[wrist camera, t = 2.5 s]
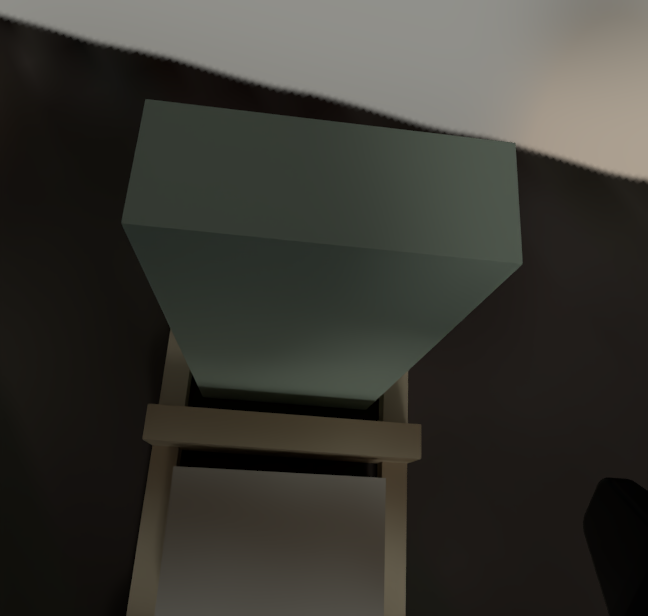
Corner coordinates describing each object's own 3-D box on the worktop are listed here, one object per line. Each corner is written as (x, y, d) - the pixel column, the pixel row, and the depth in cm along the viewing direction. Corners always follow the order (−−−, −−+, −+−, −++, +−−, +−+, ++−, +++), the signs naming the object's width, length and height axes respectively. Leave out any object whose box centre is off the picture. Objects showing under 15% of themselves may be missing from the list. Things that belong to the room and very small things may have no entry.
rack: (397, 732, 17) (420, 768, 15) (115, 723, 16) (91, 759, 14) (403, 309, 21) (421, 284, 19) (180, 288, 21) (171, 259, 18)
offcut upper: (373, 624, 17) (383, 635, 15) (162, 616, 16) (152, 627, 15) (376, 480, 18) (386, 478, 17) (180, 469, 18) (173, 466, 16)
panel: (365, 409, 20) (522, 264, 8) (203, 397, 19) (121, 223, 8) (367, 353, 21) (514, 142, 9) (210, 339, 20) (145, 98, 8)
